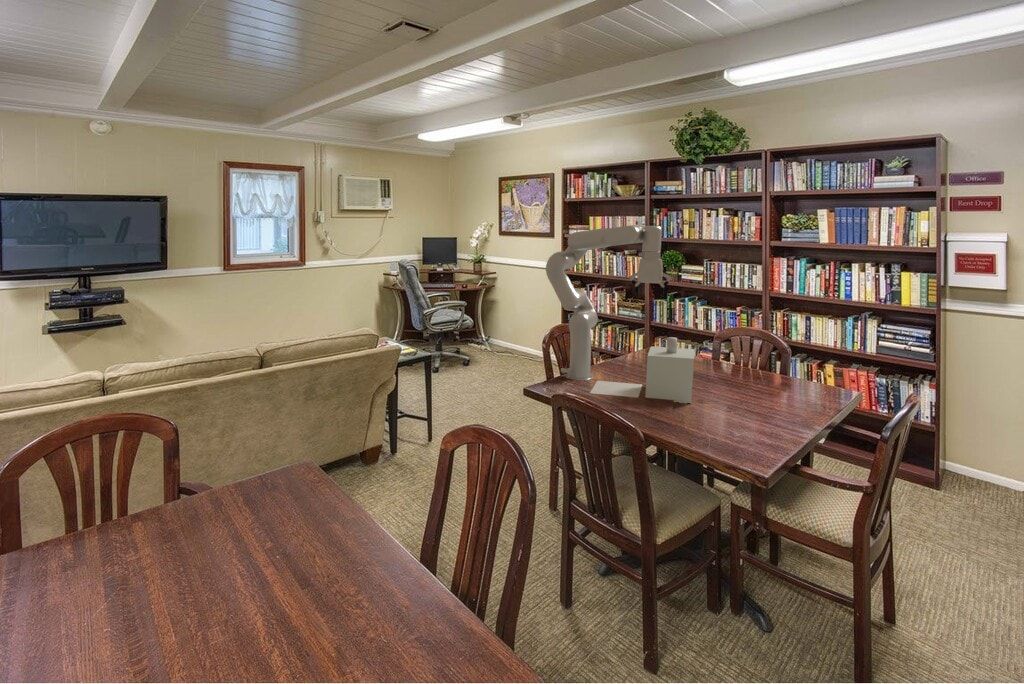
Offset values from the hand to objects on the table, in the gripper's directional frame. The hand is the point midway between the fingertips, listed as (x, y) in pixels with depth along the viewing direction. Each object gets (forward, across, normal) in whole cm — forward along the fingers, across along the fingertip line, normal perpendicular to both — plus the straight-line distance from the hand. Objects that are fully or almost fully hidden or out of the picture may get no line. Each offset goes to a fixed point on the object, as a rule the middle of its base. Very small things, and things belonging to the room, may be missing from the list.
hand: (649, 296), depth 243 cm
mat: (+40, -11, -10) cm, 43 cm away
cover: (+40, +11, -10) cm, 43 cm away
